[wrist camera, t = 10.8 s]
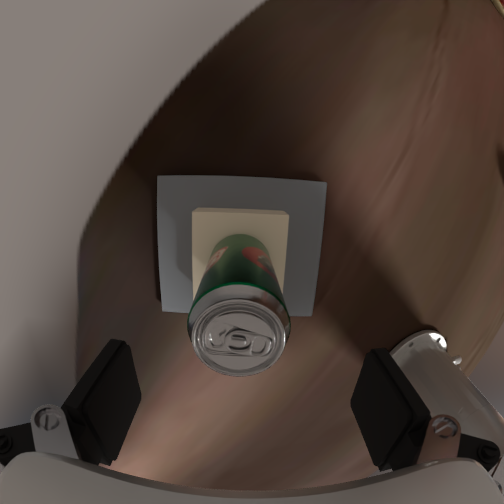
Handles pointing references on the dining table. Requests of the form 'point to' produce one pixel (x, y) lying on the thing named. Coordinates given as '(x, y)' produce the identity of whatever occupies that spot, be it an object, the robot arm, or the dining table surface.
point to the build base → (239, 196)
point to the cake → (499, 6)
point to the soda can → (239, 310)
